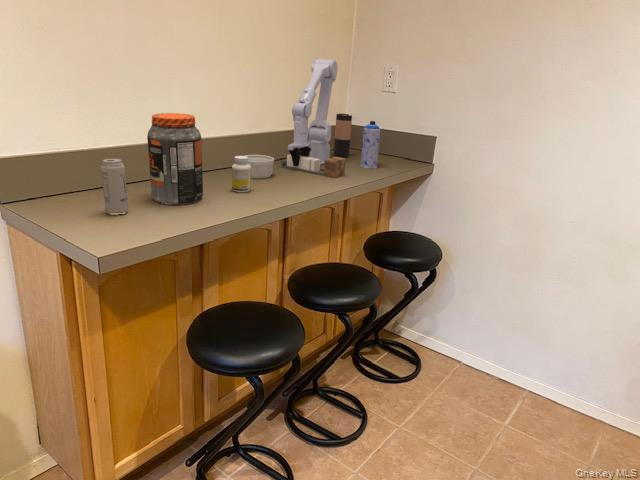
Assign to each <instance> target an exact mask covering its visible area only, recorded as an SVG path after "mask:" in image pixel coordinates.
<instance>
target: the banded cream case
mask: <svg viewBox="0 0 640 480" xmlns="http://www.w3.org/2000/svg"><path fill="white" fill-rule="evenodd" d="M286 160H287V166H290V167H295V168H300V169H304V170H309V171H314V172H321V171H320V168H321V164H320V160H321V159H317V158H312V157H310V156H308V157H306V156H301V155H300V159H299V165H298V166H294V165H293V161H292V157H291V154H287V155H286Z"/></svg>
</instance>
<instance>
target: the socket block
mask: <svg viewBox="0 0 640 480" xmlns="http://www.w3.org/2000/svg"><path fill="white" fill-rule="evenodd" d="M346 159H347V158H340V157H335V156H332V157H330V158H328V159H325V163H324V164H323V165H324V167H323V169H324V171H323V173H324V176H323V177H327V178H332V179H336V178H339V177H343V176H345V171H346Z"/></svg>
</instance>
